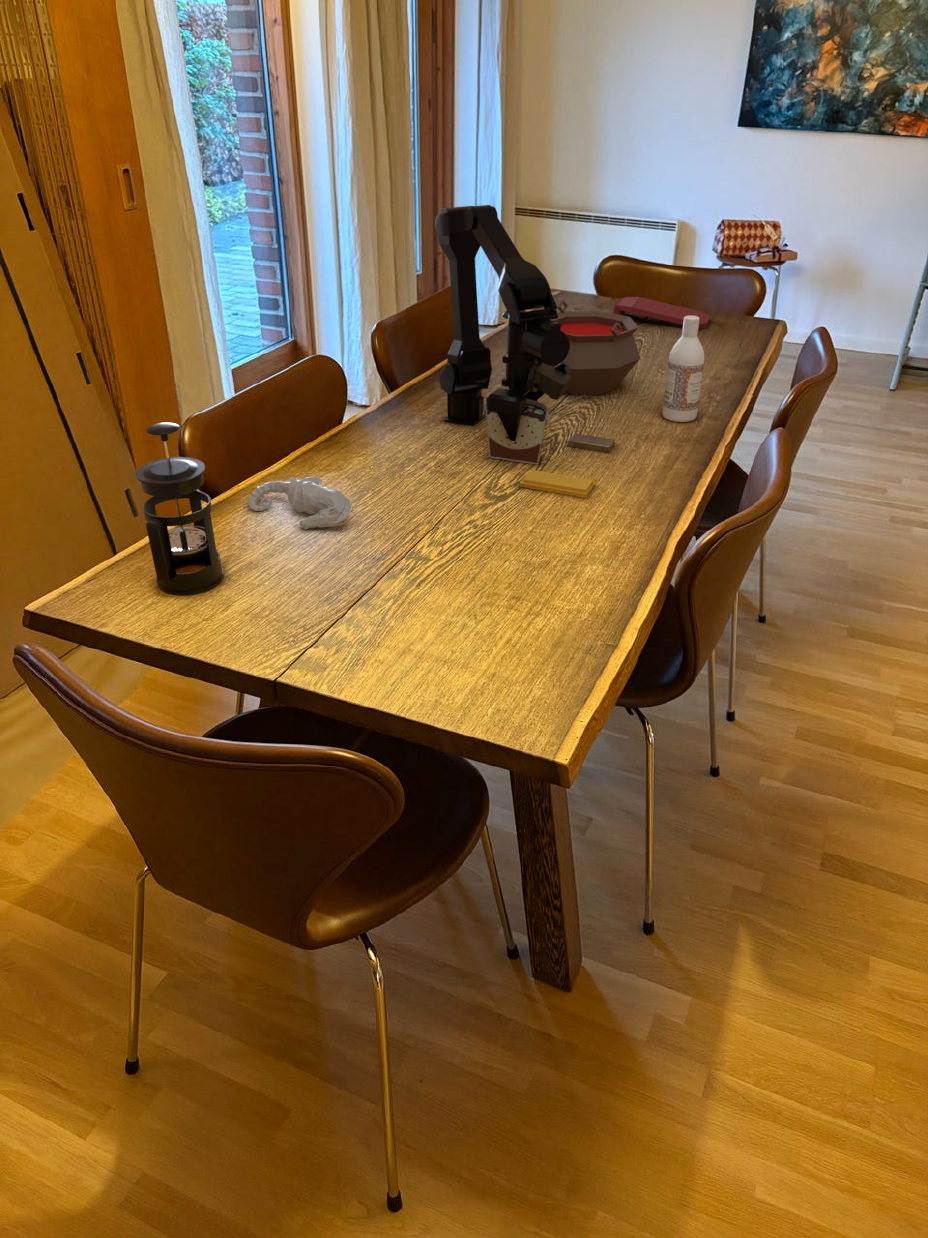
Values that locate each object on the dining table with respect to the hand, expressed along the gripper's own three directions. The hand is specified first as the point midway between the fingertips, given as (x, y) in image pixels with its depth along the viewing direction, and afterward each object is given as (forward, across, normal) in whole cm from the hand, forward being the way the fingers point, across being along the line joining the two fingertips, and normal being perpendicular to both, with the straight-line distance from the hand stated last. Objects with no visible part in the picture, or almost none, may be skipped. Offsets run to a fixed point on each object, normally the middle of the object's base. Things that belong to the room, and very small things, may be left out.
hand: (518, 434), depth 168 cm
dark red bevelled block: (+4, +105, -1) cm, 105 cm away
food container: (+4, 0, 0) cm, 4 cm away
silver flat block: (+4, +10, -11) cm, 15 cm away
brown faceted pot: (+4, +44, +1) cm, 44 cm away
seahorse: (+5, -37, +24) cm, 44 cm away
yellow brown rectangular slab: (+4, -10, -11) cm, 16 cm away
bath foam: (+4, +32, -23) cm, 40 cm away
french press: (+5, -62, +26) cm, 68 cm away
